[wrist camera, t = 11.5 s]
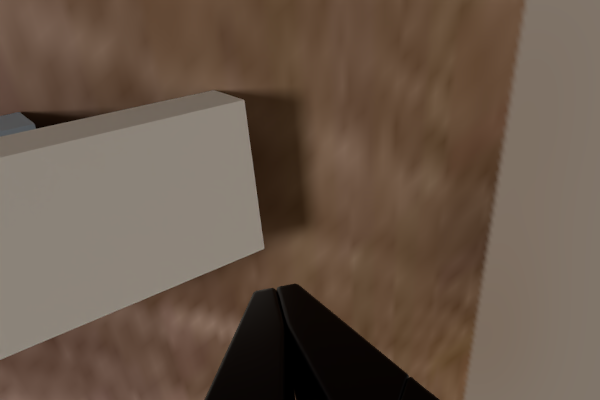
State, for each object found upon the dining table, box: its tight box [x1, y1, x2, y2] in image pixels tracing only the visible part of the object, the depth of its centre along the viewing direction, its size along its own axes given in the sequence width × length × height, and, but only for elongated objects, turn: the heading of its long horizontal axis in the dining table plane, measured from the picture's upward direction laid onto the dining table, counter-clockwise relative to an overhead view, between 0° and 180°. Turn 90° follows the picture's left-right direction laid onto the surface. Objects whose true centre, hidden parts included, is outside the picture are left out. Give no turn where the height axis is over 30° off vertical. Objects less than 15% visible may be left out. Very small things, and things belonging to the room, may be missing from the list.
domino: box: [0, 90, 264, 360], centre depth 13 cm, size 2×5×10 cm
